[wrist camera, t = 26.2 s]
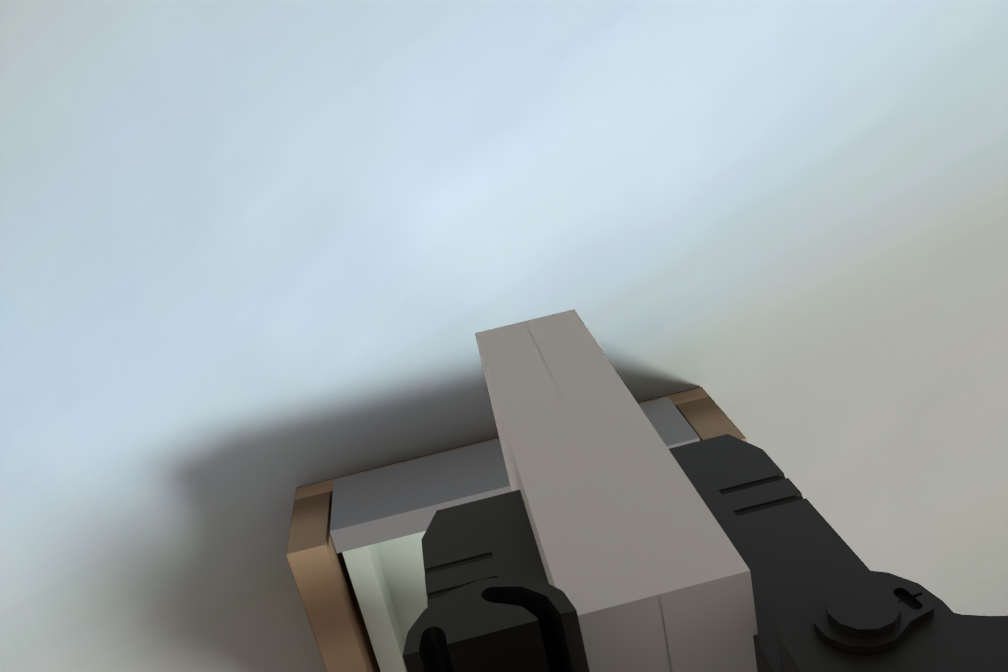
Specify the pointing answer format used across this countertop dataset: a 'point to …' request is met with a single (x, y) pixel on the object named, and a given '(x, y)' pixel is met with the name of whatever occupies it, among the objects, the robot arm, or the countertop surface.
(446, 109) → the countertop surface
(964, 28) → the countertop surface
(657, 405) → the tray
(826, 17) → the countertop surface
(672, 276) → the countertop surface
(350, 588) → the dock
